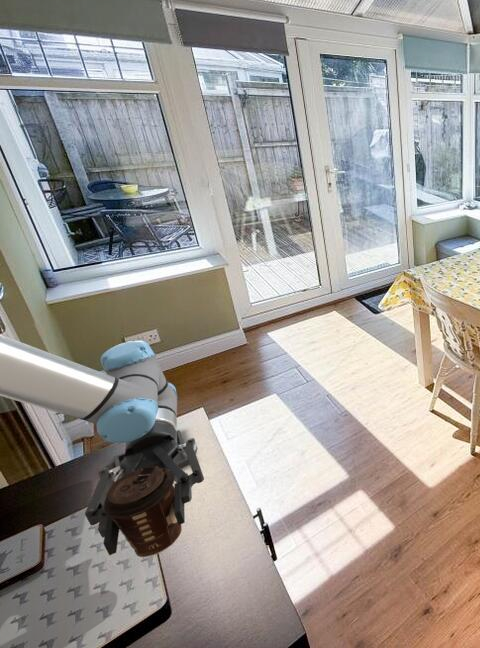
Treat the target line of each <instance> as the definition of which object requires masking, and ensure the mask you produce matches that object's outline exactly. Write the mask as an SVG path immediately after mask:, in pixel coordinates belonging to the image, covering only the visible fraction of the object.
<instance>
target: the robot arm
mask: <svg viewBox="0 0 480 648" xmlns="http://www.w3.org/2000/svg"><path fill="white" fill-rule="evenodd" d="M100 363H101V366H102V371H103V372H102V371H99V370H96V369H94V368H91V367H88V366H86V365H83V364H80V363H78V362H75V361H73V360H69V359H67V358H64V357H62V356H59V355H56V354H54V353H52V352H51V353H50V352H48V351H45V350H43V349H41V348H37V347H35V346H32V345H30V344H27V343H25V342H21V341H19V340H16V339H13V338H11V337H8V336H5V335H3V334H0V397H4V398H6V399H11V400H13V401H17V402H19V403H24V404H27V405H31V406H34V407H38V408H40V409H44V410H47V411H51V412H54V413H58V414H61V415H64V416H68V417H71V418H74V419H78V420H81V421H85V422H87V423H90V424H94V425H95V427H96V431H97V434H98V436H99V438H101V439H102V440H103V441H105V442H108V443H111V444H125V449H124V453H125V456H124V460H123V461H122V462H121V464H120V466H118V467H116V466H115V467H114V468H111V469H110V470H109V469H108V468H107V467H105V468H102V469H100V470H99V471H98V478H99V480H98V482H97V485H96V488H95V489H94V491H93V494H92V496H91V498H90V500H89V502H88V505H87V507H86V510H85V512H84V516H85V517H86V519H87V521H88V523H89V525H90V526H95V525H97V524H98V527H97V531H98V533H99V535H100V536H101V538H103V546H104V548H105V550H106V553H107V554H108V555H109V556H112V555H114V554H117V550H118V541H119V533H120V529H119V528H118V526H117V524H116V523H115V522H114V520H113V519H112V517H110V516H108V515H107V514H106V513H105V512H104V501H105V499H106V496H107V493H108V491H109V489H110V487H111V486H112V485H113V484H114V482H115V481H116V480H117V478H118V476H119V474H121V473H124V474H123V476H124V475H126V474H129V473H131V472H133V471H135V470H137V469H139V468H141V467H146V466H148V465H153V467H156V466H158V467H159V468H165V469H166V470H169V471H172V473H173V474H174V476H175V481H174V484H173V486H174V488H175V494H174V514H175V517H176V519H177V522H178V524H179V525H180V524H181V525H183V524H185V519H186V518H185V516H186V515H185V504H187V503H190V502H191V501H192V499H193V492H192V488H193V486H194V485H195V484H201V483H202V482H204V480H205V477H204V474H203V471H202V468H201V465H200V462H199V460H198V458H197V457H198V456H197V453H198V446H197V442H196V439H195V438H193V437H191V438H189V439H188V440H186V443H184V444H182V445H179V444H178V443H177V431H178V403H179V402H178V400H179V397H178V393H177V389H176V387H175V385H174V384H172V383H171V382H169V381H168V380H167V378H166V376H165V374H164V372H163V370H162V368H161V366H160V364H159V361H158V359H157V357H156V352H154V351H153V349H152V348H151V346H150V344H149V343H148V342H147V341H144V340H129V341H125V342H122V343H119V344H116V345H115V346H113V347H110V348H109V349H107V350H106V351H105V352H104V353H103V354H102V355H101V357H100ZM104 372H105V373H104ZM180 452H182V453H183V455H186V456H187V457H188V460H189V463H190V464H189V466H190V469H191V473H190V474H188V472H185V471H184V470H183V468H180V467H179V466H178V465H177V464H176V463H175V462H174V461H173V460H174V459H175V458H176V456H177V455H178V454H179V453H180Z"/></svg>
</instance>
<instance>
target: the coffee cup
mask: <svg viewBox="0 0 480 648" xmlns="http://www.w3.org/2000/svg"><path fill="white" fill-rule="evenodd" d="M174 484H175V476H174V474H173V473H172V471H169V470H166V469H165V468H159V467H158V466H156V467H153V465H148V466H146V467H141V468H139V469H137V470H135V471H133V472H131V473H129V474H126V475H124V476H123V477H122V478H120V479H118V480H116V481H115V482H114V484H113V485H112V486H111V487H110V489H109V491H108V493H107V496H106V499H105V501H104V512H105V513H106V514H107V515H108V516H110V517H112V519H113V520H114V522H115V523H116V524H117V526H118V528H119V531H120V532H121V534H122V535H123V536H124V538H125V540H126V542H128V543H129V545H130V547H131V548H132V549H133V550H134V554H135V555H136V556H137V557H140V558H147V557H152V556H155V555H158V554H160V553H163V551H165V550H167V549H169V548H170V547H171V546H173V545H174V543H175V542H176V541H177V540H178V538H179V537H180V536H181V533H182V529H183V528H182V524H180V525H179V524H178V522H177V519H176V517H175V514H174V494H175V488H174Z"/></svg>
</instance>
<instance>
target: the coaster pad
mask: <svg viewBox="0 0 480 648" xmlns="http://www.w3.org/2000/svg"><path fill="white" fill-rule="evenodd" d="M177 443H178V444H179V445H182V444H185V441H184V439H183V436H182V432H181V430H180V429H177ZM124 456H125V452H123V453H120V454H118V455H115V456H113V457H114V466H115V468H116V467H118V466H120V464H121V462H122V461H123V460H124ZM173 461H174V462H175V463H176V464H177V465H178V466H179V467H180V468H181V469H184V468H185V467H187V466H190V463H189V460H188V457H187V456H186V455H183V453H182V452H180V453H179V454H178V455H177V456H176V458H175V459H174V460H173ZM123 474H124V473H121V474H119V476H118V478H117V480H118V479H120V478H122V477H123Z"/></svg>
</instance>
